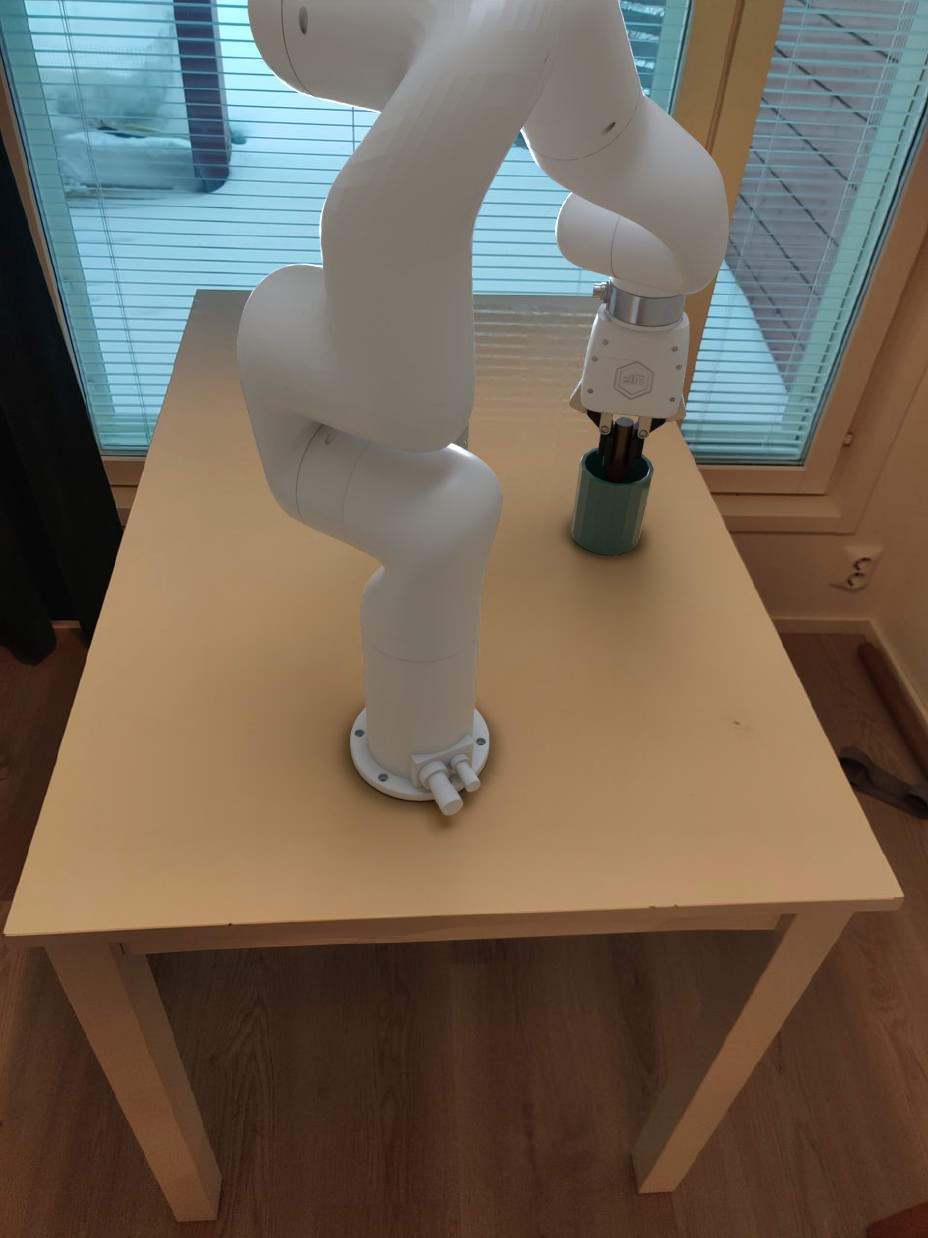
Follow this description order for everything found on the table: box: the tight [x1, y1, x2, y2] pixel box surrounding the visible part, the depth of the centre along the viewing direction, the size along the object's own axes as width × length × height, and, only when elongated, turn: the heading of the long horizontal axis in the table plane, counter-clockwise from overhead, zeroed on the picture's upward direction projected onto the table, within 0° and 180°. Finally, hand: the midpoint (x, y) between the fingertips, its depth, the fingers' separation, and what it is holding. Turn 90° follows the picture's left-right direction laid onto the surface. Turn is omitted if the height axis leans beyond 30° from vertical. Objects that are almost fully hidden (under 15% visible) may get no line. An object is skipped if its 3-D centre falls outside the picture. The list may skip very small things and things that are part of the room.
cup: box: [570, 447, 655, 556], centre depth 106 cm, size 8×8×10 cm
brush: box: [605, 416, 635, 484], centre depth 104 cm, size 4×4×14 cm
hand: (618, 460), depth 103 cm, fingers closed on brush, 2 cm apart
